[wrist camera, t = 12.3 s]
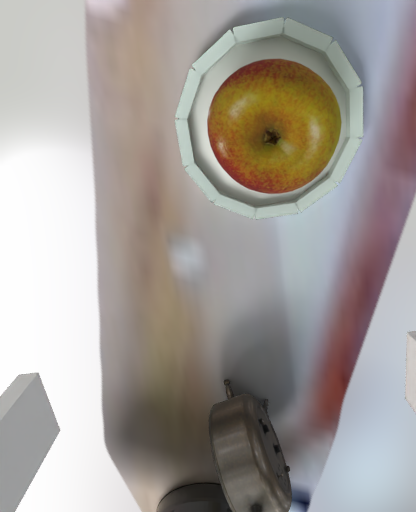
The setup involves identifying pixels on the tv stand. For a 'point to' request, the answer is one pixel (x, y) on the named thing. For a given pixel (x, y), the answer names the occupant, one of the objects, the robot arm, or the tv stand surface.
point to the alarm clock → (248, 455)
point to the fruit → (274, 125)
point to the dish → (243, 53)
